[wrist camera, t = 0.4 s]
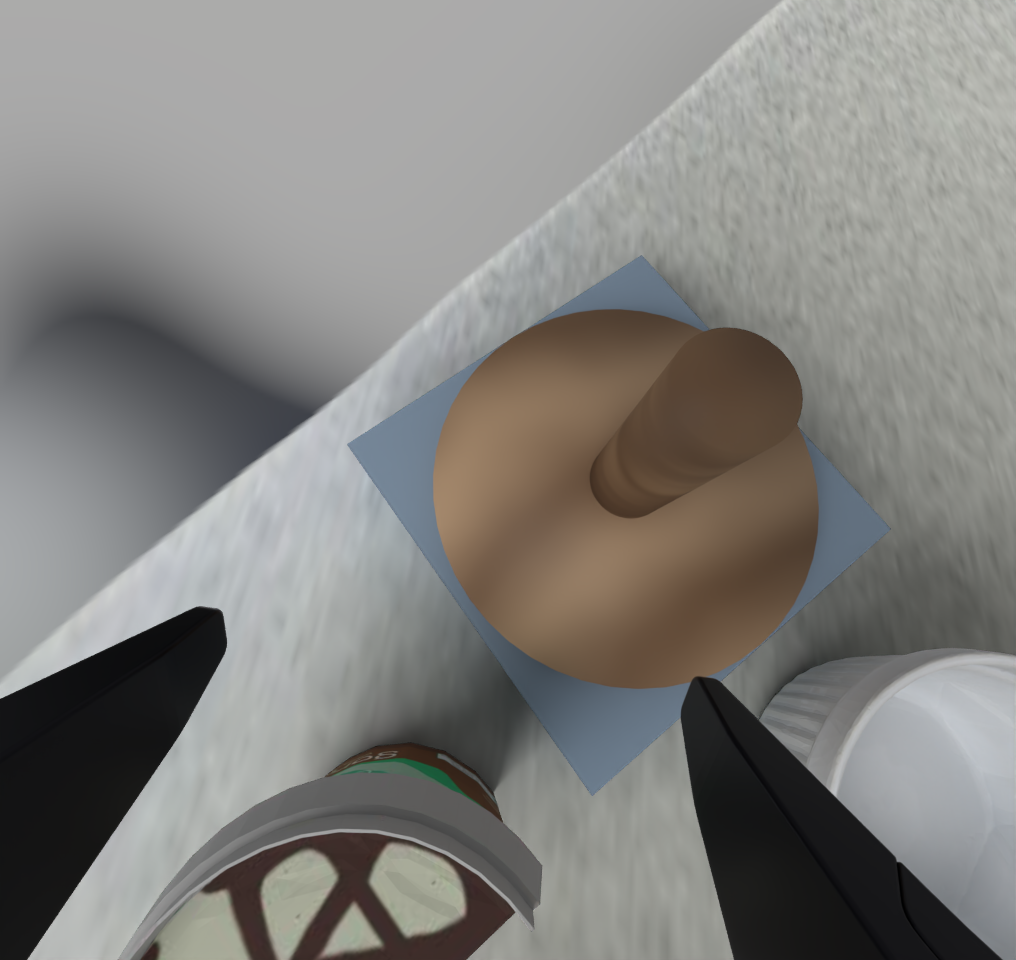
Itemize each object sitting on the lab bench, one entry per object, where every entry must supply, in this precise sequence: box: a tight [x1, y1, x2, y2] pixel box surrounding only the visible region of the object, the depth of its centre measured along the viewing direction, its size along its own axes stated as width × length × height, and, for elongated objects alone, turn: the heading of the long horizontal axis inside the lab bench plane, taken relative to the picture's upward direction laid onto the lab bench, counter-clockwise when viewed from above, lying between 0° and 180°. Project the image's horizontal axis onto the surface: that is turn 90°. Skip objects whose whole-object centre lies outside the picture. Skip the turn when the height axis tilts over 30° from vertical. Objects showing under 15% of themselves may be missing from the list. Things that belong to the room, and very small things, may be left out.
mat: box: [347, 255, 891, 796], centre depth 22 cm, size 17×17×3 cm
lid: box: [433, 309, 819, 689], centre depth 16 cm, size 16×16×10 cm
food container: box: [118, 743, 542, 960], centre depth 15 cm, size 12×6×10 cm, turn 128°
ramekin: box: [759, 648, 1016, 960], centre depth 18 cm, size 13×13×7 cm
